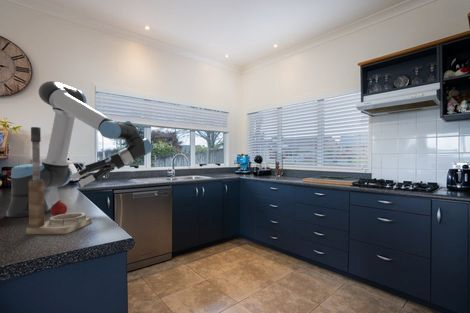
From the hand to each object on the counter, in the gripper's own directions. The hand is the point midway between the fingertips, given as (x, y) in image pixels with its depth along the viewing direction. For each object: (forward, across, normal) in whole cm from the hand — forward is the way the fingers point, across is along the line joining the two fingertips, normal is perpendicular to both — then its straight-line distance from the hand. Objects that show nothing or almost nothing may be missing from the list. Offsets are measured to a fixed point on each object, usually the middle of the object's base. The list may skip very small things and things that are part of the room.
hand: (75, 181), depth 108 cm
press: (+10, -14, -18) cm, 25 cm away
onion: (+13, +2, -11) cm, 17 cm away
